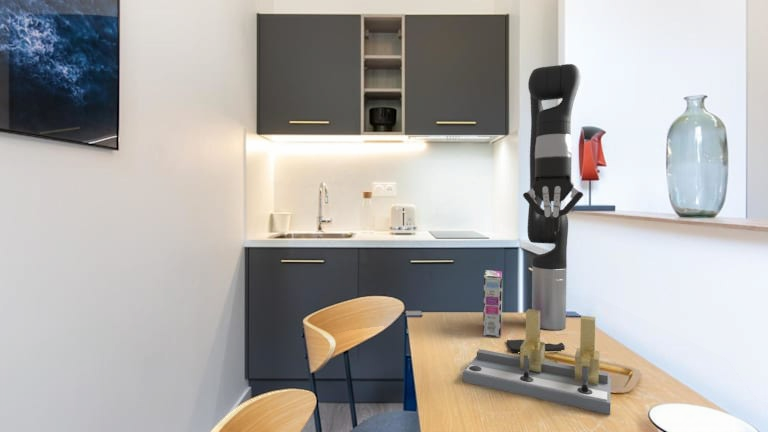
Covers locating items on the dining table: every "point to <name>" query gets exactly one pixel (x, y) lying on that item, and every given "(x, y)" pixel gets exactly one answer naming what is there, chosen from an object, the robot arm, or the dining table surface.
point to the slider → (532, 344)
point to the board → (538, 381)
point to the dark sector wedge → (516, 344)
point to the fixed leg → (587, 355)
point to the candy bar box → (492, 303)
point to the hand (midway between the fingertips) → (552, 233)
